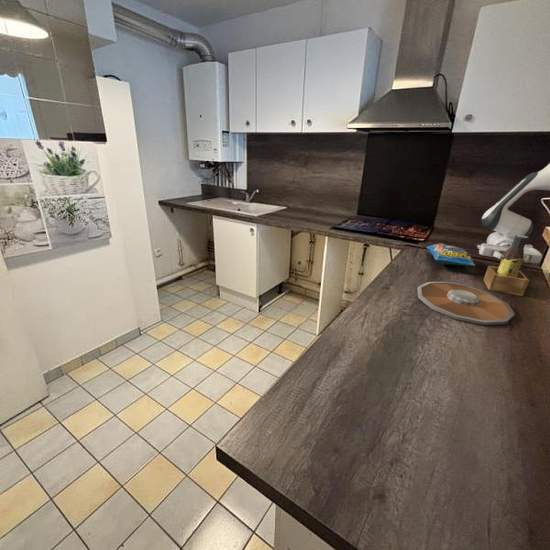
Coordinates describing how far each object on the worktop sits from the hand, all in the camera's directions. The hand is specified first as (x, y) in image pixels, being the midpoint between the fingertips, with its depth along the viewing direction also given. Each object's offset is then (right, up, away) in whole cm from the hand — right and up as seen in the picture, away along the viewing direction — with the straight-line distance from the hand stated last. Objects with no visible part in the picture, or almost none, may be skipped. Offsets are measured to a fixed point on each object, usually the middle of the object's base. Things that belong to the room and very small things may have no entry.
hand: (513, 259), depth 112 cm
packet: (-8, -1, +29) cm, 30 cm away
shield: (-25, -16, -7) cm, 31 cm away
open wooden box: (0, -11, +6) cm, 13 cm away
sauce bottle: (0, -10, +5) cm, 11 cm away
